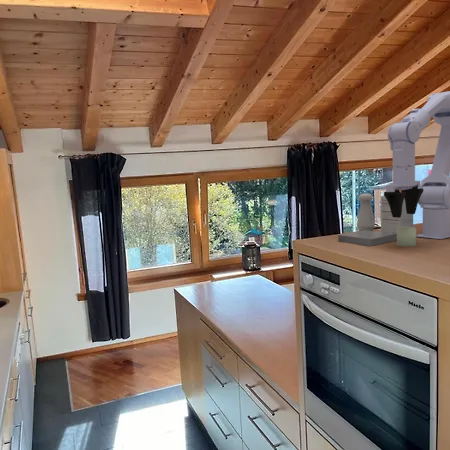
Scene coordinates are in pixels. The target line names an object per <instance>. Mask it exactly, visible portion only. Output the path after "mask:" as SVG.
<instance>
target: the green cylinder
mask: <svg viewBox="0 0 450 450" xmlns="http://www.w3.org/2000/svg"><path fill="white" fill-rule="evenodd" d="M416 235H417V226H413V227H412V226H401V227H397V240H396V245H397V246H398V247H404V248H405V247H407V248H409V247H416V246H417V236H416Z"/></svg>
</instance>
